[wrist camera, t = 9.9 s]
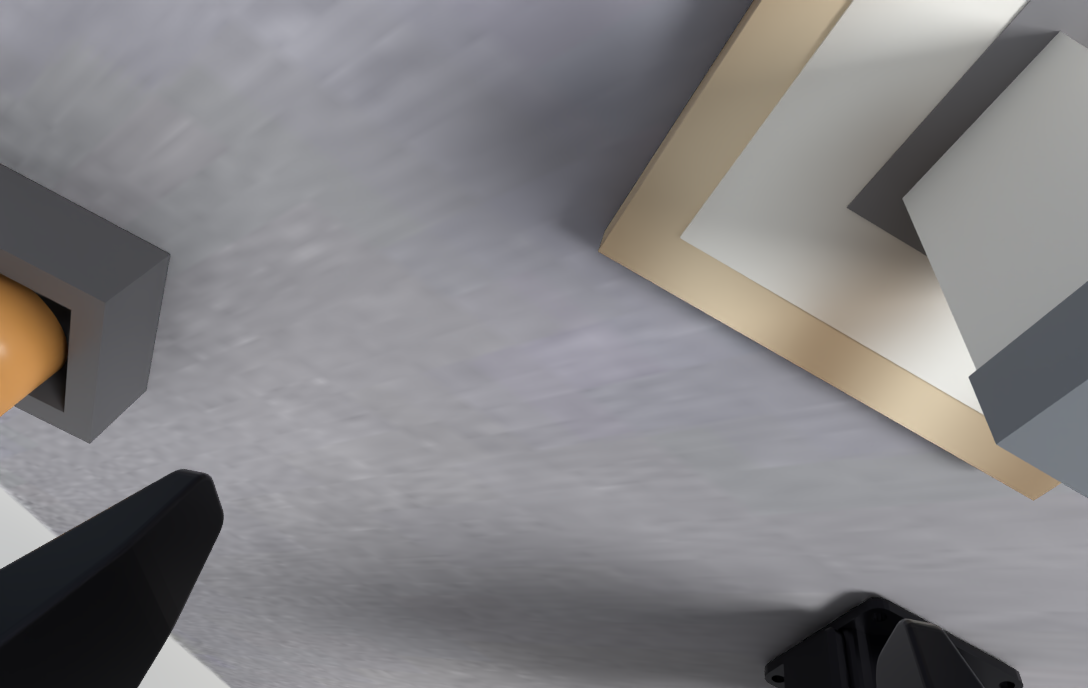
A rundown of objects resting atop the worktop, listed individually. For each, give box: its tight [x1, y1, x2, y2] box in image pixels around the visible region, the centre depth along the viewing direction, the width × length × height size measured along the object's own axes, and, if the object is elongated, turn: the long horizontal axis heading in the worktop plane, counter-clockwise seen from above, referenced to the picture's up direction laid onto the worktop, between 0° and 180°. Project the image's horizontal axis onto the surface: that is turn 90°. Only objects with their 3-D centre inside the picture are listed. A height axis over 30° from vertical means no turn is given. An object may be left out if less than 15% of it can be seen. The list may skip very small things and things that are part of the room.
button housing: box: [0, 164, 170, 444], centre depth 24 cm, size 7×7×3 cm
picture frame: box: [598, 0, 1088, 501], centre depth 16 cm, size 14×14×1 cm
